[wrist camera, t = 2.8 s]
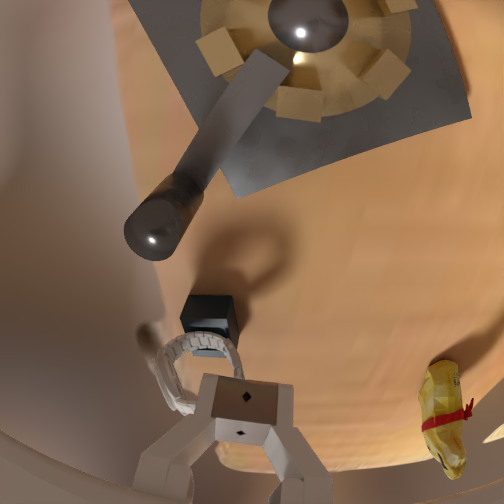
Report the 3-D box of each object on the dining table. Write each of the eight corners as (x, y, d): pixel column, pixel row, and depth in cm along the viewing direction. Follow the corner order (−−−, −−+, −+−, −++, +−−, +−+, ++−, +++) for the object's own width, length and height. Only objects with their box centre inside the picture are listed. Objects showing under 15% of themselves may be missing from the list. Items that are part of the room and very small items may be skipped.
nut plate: (360, -96, 10) (366, -108, 8) (459, 112, 18) (473, 118, 16) (133, -10, 16) (118, -14, 14) (241, 188, 24) (236, 200, 22)
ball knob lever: (280, -75, 11) (271, -146, 4) (425, 24, 13) (503, 13, 6) (125, 146, 20) (50, 197, 13) (254, 228, 23) (236, 313, 16)
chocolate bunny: (409, 403, 38) (423, 495, 26) (423, 359, 33) (449, 471, 20) (450, 394, 37) (470, 481, 24) (471, 348, 31) (505, 452, 19)
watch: (169, 294, 31) (130, 386, 22) (250, 295, 30) (232, 397, 20) (183, 333, 34) (153, 419, 25) (256, 336, 33) (242, 430, 23)
